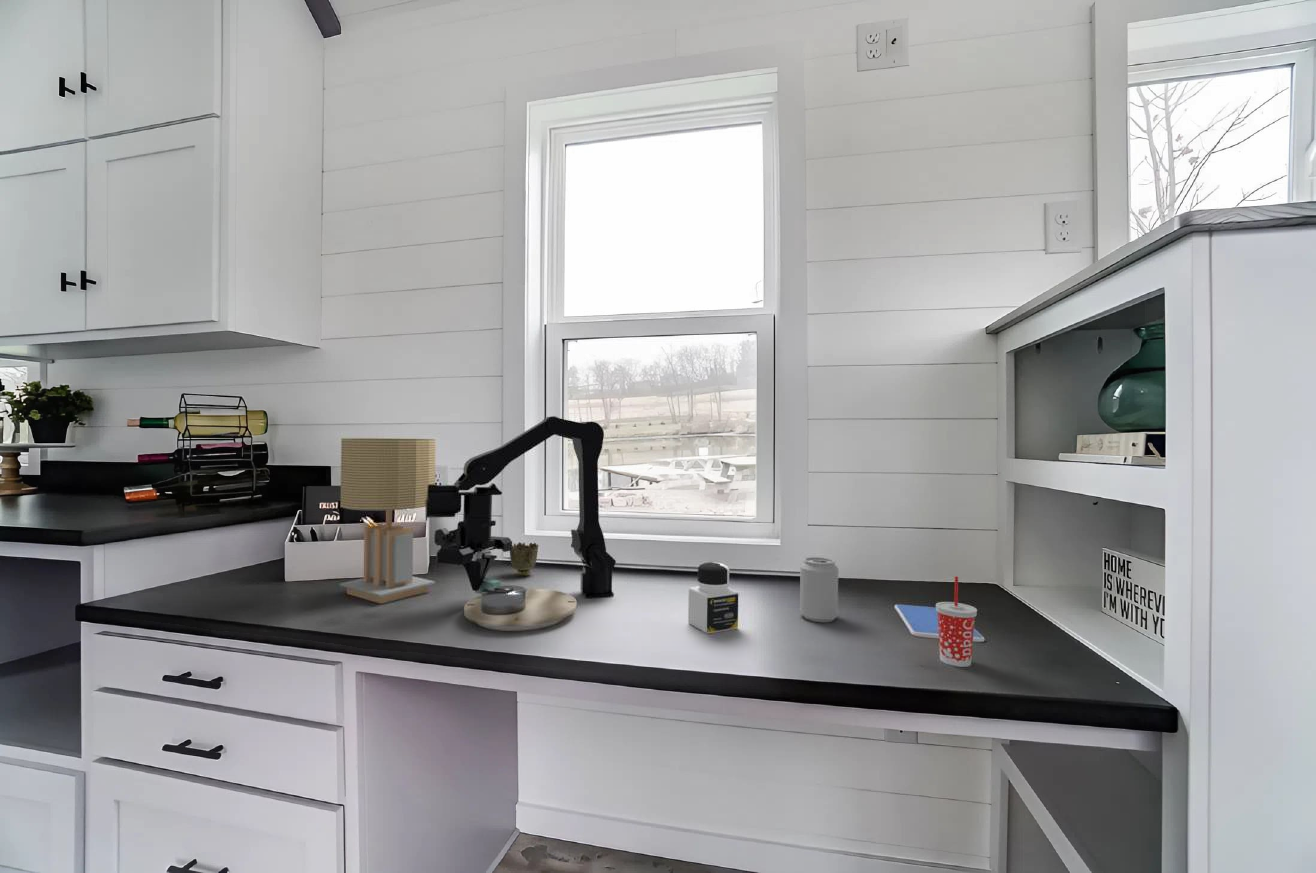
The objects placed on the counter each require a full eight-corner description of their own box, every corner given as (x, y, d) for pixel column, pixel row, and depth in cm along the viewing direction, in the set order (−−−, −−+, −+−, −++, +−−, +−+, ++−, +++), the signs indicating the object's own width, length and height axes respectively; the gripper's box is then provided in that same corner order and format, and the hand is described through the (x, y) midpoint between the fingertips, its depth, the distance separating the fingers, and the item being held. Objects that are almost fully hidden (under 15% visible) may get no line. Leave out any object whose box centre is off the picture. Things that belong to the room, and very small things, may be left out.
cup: (541, 572, 152) (542, 542, 152) (532, 579, 144) (533, 547, 144) (514, 571, 152) (514, 541, 152) (504, 578, 145) (504, 546, 145)
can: (840, 615, 118) (840, 557, 118) (835, 625, 111) (835, 564, 112) (803, 610, 121) (804, 553, 121) (796, 620, 115) (797, 560, 115)
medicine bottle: (707, 634, 106) (707, 569, 106) (687, 623, 112) (688, 562, 112) (738, 629, 109) (739, 566, 109) (717, 618, 115) (718, 559, 115)
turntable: (576, 592, 128) (576, 574, 128) (576, 624, 106) (577, 602, 106) (474, 594, 124) (474, 576, 124) (453, 628, 103) (453, 606, 103)
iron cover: (527, 601, 116) (527, 582, 116) (523, 614, 108) (523, 593, 108) (484, 603, 115) (484, 583, 115) (477, 616, 107) (477, 594, 107)
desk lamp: (451, 590, 133) (453, 439, 133) (371, 610, 117) (373, 439, 117) (401, 578, 144) (403, 438, 144) (321, 595, 127) (323, 438, 127)
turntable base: (560, 600, 126) (560, 593, 126) (573, 626, 109) (573, 618, 109) (474, 606, 121) (474, 599, 121) (474, 634, 104) (474, 627, 104)
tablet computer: (893, 608, 125) (893, 602, 125) (956, 613, 122) (956, 607, 122) (912, 639, 106) (912, 631, 106) (986, 645, 103) (986, 638, 103)
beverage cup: (947, 668, 91) (948, 581, 91) (927, 654, 97) (928, 572, 97) (984, 668, 92) (985, 581, 92) (962, 654, 98) (963, 572, 98)
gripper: (472, 510, 132) (470, 578, 131) (414, 519, 114) (412, 597, 114) (514, 512, 128) (512, 582, 128) (462, 522, 111) (459, 602, 110)
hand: (475, 590), depth 120 cm, fingers closed
